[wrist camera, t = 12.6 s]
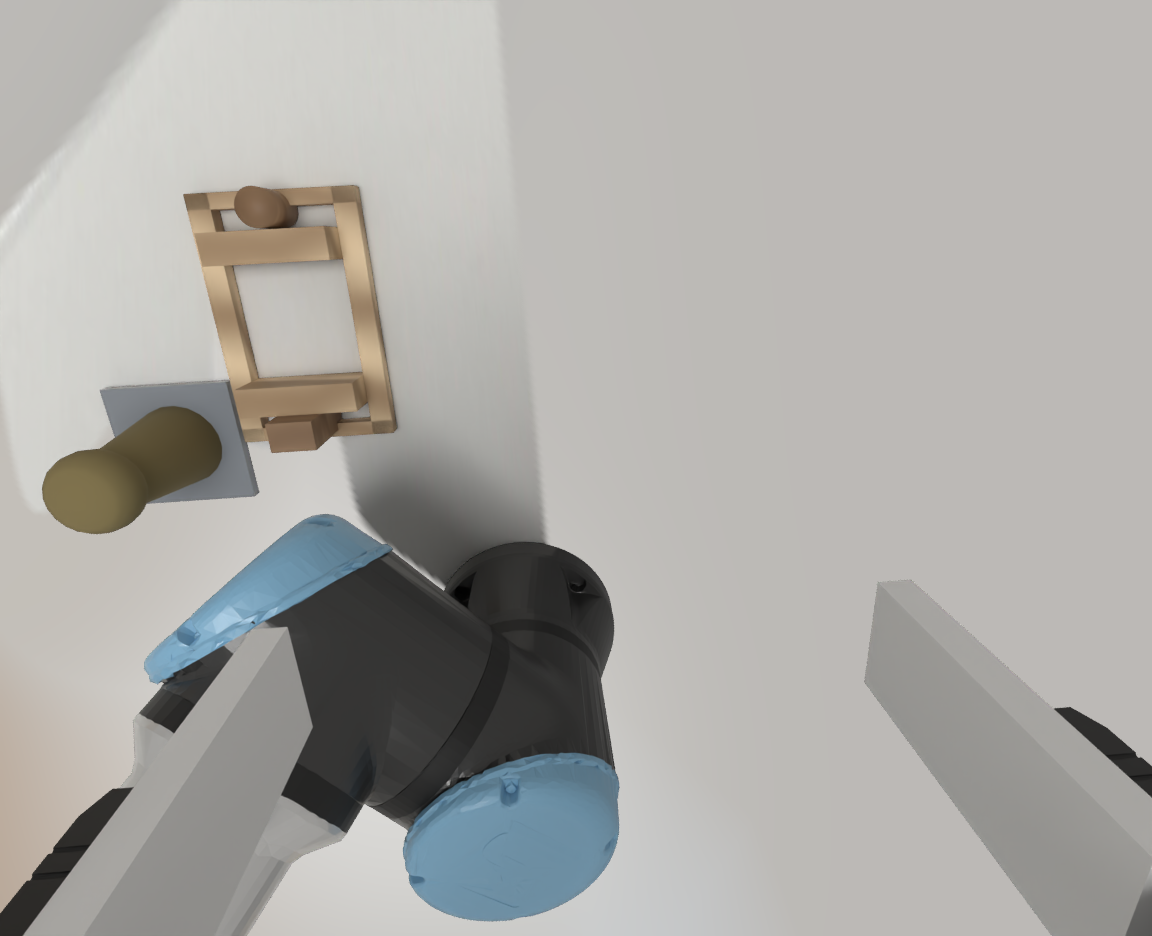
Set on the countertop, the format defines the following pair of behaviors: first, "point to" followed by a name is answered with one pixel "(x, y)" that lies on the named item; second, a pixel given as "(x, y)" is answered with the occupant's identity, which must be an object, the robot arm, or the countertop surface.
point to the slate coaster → (212, 405)
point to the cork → (132, 470)
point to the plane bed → (295, 400)
